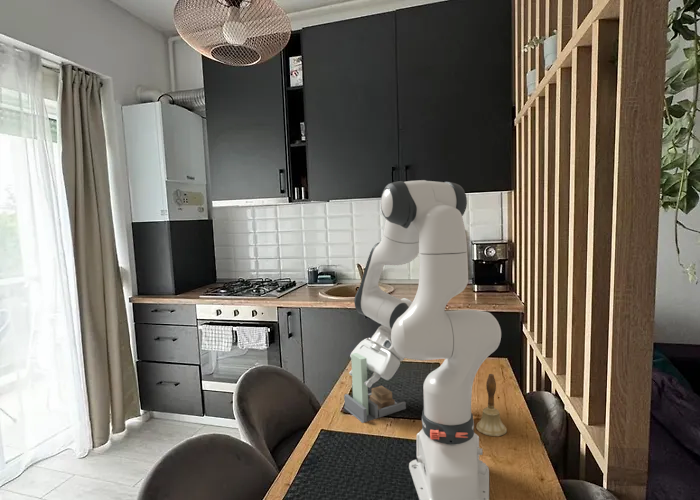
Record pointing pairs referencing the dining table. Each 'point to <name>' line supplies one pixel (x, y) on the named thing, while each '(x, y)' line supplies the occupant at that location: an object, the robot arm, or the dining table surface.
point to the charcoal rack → (370, 409)
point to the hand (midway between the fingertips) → (358, 380)
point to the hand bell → (491, 413)
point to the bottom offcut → (382, 405)
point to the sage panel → (359, 379)
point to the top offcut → (381, 394)
